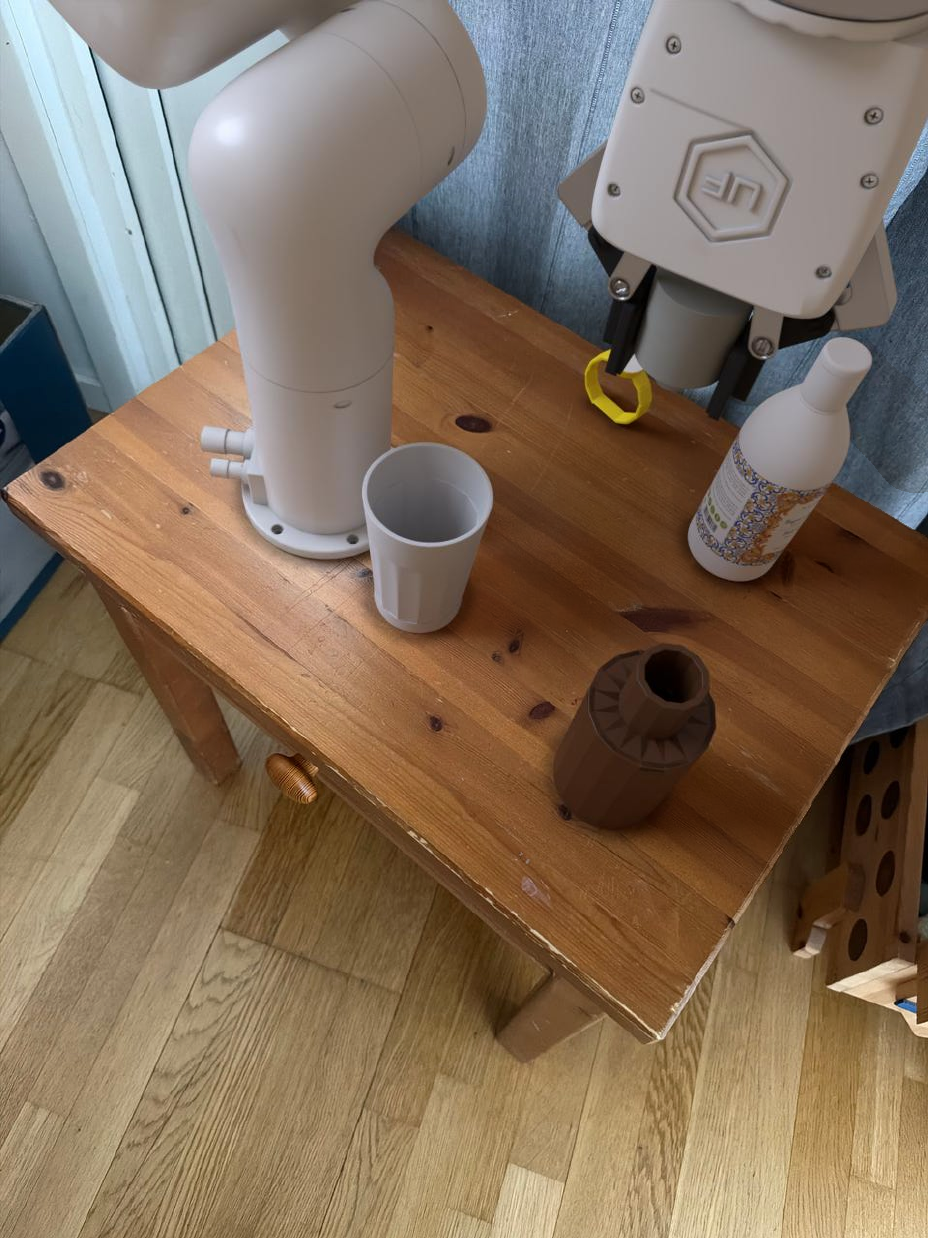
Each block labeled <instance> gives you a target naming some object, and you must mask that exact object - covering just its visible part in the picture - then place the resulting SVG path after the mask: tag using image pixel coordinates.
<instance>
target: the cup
mask: <svg viewBox="0 0 928 1238" xmlns="http://www.w3.org/2000/svg"><path fill="white" fill-rule="evenodd" d="M393 448H394V449H392V450H390V451H388V452H386V453H385V454H383V455H382V456H380V457H379V458H378V459H377V460H376V461H375V462H374V463H373V464H372V466H371V467H370V468H369V470H368V472H367V474H366V476H365V479H364V482H363V487H362V497H363V504H364V510H365V517H366V524H367V530H368V538H369V546H370V550H369V552H370V561H371V569H372V576H373V577H372V578H373V583H374V602H375V605H376V608H377V610H378V612H379V614H380V615H381V616H382V617H383V619H384V620H385V621H387V622H388V623H389V624H390V625H392V626H393V627H394V628H397V629H399V630H401V631H404V632H408V633H414V634H427V633H431V632H432V633H433V632H435V631H438V630H441V629H442V628H444V627H446V626H447V625H449V624H450V623H451V622H452V621H453V620H454V619H455V618H456V616H457V614H458V613H459V611H460V609H461V606H462V602H463V595H464V593H465V589H466V587H467V583H468V581H469V580H468V579H469V578H470V574H471V571H472V568H473V565H474V561H475V559H476V555H477V554H478V550H479V547H480V544H481V541H482V538H483V535H484V533H485V532H484V531H485V530H486V527H487V523H488V521H489V518H490V516H491V514H492V513H491V512H492V510H493V506H494V489H493V485H492V482H491V480H490V478H489V476H488V474H487V473H486V471H485V469H484V468H483V467H482V466H481V464H479V463H478V462H477V461H476V459H474V458H473V457H472V456H470V455H469V454H467V453H466V452H464V451H462V450H460V449H458V448H456V447H453V446H450V445H447V444H444V443H438V442H430V441H419V442H417V441H416V442H411V443H406V444H402V445H398V446H396V447H393Z"/></svg>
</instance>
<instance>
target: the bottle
mask: <svg viewBox="0 0 928 1238" xmlns="http://www.w3.org/2000/svg"><path fill="white" fill-rule="evenodd" d="M710 684H711V683H710V672H709V670H708V667H707V666H706V665H705V663H704V661H703V660H702V659H701V657H700V655H698V654H697V653H695V652H694V651H692V650H690V649H689V648H687V647H686V646H685V645H682V644H676V643H668V642H662V643H659V644H656V645H654V646H651V647H648V648H647V649H635V650H631V651H626V652H622V653H618V654H615V655H614V656H613V657H612V658H610V659H609V660H608V661H606V662H605V663H604V664H602V665H601V666H599V668H598V669H597V671H596V673H595V675H594V676H593V678H592V680H591V682H590V684H589V686H588V688H587V690H586V691H585V694H584V696H583V698H582V700H581V703H580V705H579V706H578V708H577V710H576V712H575V714H574V716H573V719H572V720H571V723H570V725H569V727H568V729H567V730H566V732H565V734H564V736H563V739H562V740H561V743H560V745H559V747H558V749H557V751H556V753H555V754H554V759H553V765H552V776H553V783H554V786H555V790H556V792H557V794H558V797H559V798H560V800H561V801H562V803H563V804H564V806H565V807H566V808H567V809H568V810H569V812H570V813H572V814H573V815H574V816H575V817H577V818H578V819H579V820H581V821H582V822H585V823H586V824H589V825H591V826H593V827H597V828H601V829H607V830H618V829H619V830H621V829H624V828H628V827H632V826H635V825H636V824H638V823H640V822H641V821H643V820H644V819H645V818H646V817H648V816H649V814H650V813H651V812H652V811H654V810H655V809H656V808H657V807H658V805H660V803H661V802H662V801H663V800H664V799H665V798H666V797H667V796H668V794H669V793H670V792H671V791H672V790H673V788H674V787H676V785H677V784H678V783H679V782H680V780H681V779H682V778H683V777H684V776H685V775H686V774H687V773H688V772H689V770H691V768H692V767H693V766H694V765H695V764H696V762H698V760H699V759H700V758H702V756H703V755H704V754H705V752H706V751H707V750H708V749H709V747H710V745H711V742H712V739H713V737H714V735H715V732H716V730H717V714H716V712H717V711H716V702H715V701H714V699H713V696H712V694H711V692H710V690H711V687H710V686H711V685H710Z"/></svg>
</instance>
